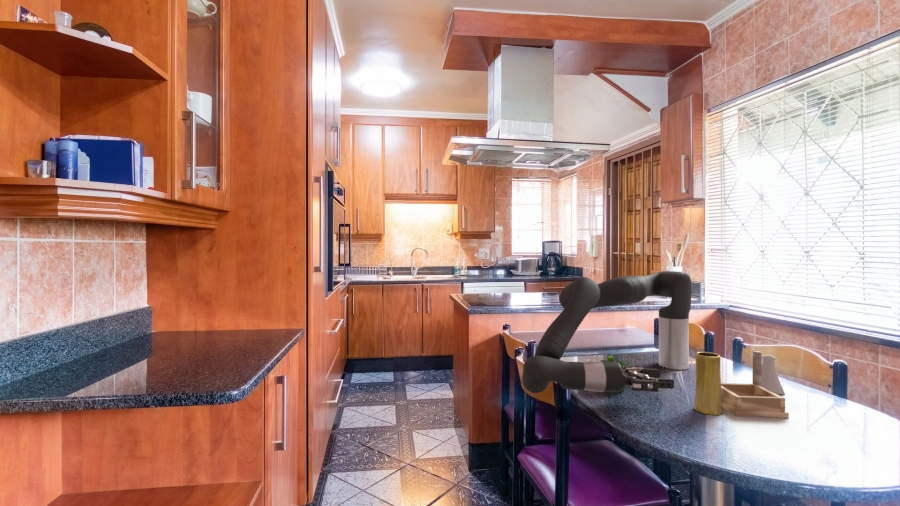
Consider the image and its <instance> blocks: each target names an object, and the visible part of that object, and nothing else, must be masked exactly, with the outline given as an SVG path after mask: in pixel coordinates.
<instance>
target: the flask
mask: <svg viewBox="0 0 900 506" xmlns="http://www.w3.org/2000/svg"><path fill="white" fill-rule="evenodd" d="M776 359H777V357H775V356H773V355H766V354H765V355H762V387H763V388H765V389H767V390H769V391H771V392H773V393H775V394H777V395H779V396H780V395H785V394H786V393H785V391H784V389H783V386H782V384H781V381H780V379H779V377H778V373H777V371H776V365H775V361H776Z"/></svg>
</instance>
